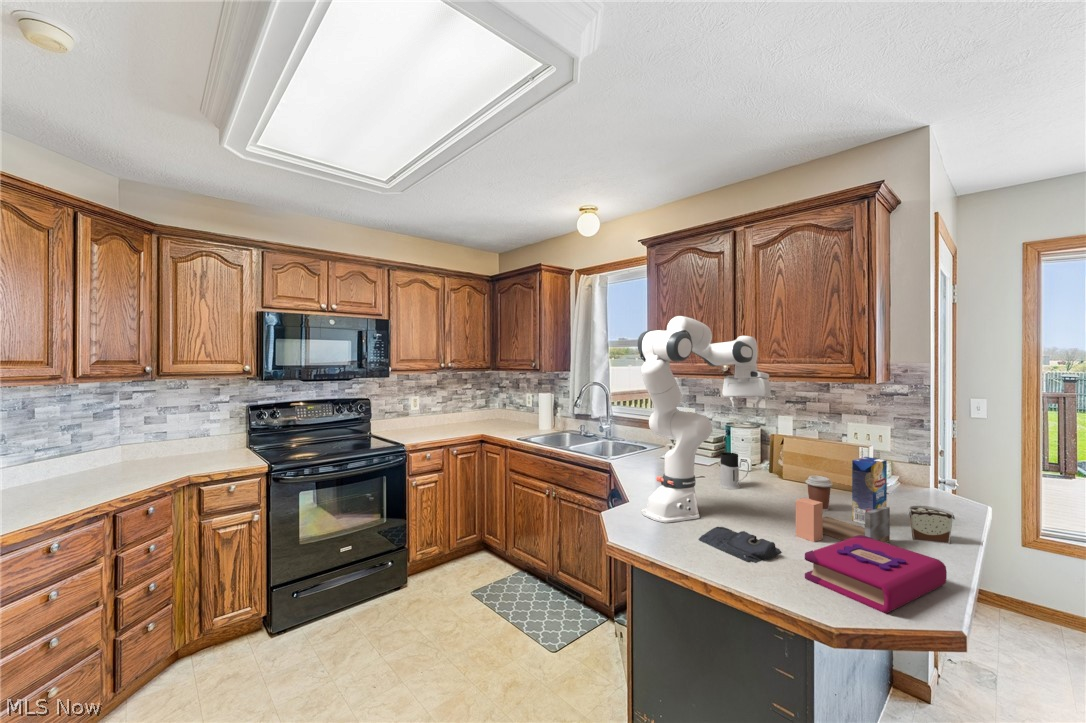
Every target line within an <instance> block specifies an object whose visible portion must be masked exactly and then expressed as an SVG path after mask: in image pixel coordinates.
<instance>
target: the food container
mask: <svg viewBox="0 0 1086 723" xmlns="http://www.w3.org/2000/svg"><path fill="white" fill-rule="evenodd" d="M906 515H907V516H909V520H910V528H911V536H912V540H913V541H916V542H926V543H936V544H946V545H950V541H951V535H952V526H953V520H956V518H955V514H954V512H952V511H949V510H947V509H943V508H939V507H935V506H928V505H912V506H911V505H910V506H909V508H908V510H907V513H906Z"/></svg>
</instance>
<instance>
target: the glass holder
mask: <svg viewBox="0 0 1086 723" xmlns="http://www.w3.org/2000/svg"><path fill="white" fill-rule="evenodd" d="M742 462H745V463H746V464H747V469H746V470H747V471H746V473H745V474H744V476H743V477H742V478H741V479H739V478H740V477H739V476H740V474H739V473H740V472H739V469H741V467H742ZM719 465H720V467H719V469H720V471H719V474H720V475H719V477H720V478H719V485H718V486H719V487H720V488H722V489H725V490H740V488H741V487H740V485H739V483H740V482H741V481H743V480H744V479H746V477H747V476H748V474H749V471H750V464H749V462H748V461H747V460H745V459H741V460H740V461H739V453H735V452H721V453H720V462H719Z"/></svg>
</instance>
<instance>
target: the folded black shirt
mask: <svg viewBox="0 0 1086 723" xmlns="http://www.w3.org/2000/svg"><path fill="white" fill-rule="evenodd" d="M698 541H700V542H701V543H703V544H706V545H708V546H710V547H712V548H715V549H717V550H719V551H721V552H724V553H726V554H728V555H731V556H732V557H735V558H737V559H740V560H742V562H745V563H753V564H754V563H755V564H758V563H760V562H762V561H769V560H771V559H773V558H776V557H777V556H778V555H779V554H780V553H782V551H781V549H780V548H778V547H776V543H775V542H773V541H769V540H767V539H765V538H759V539H758V538H757V536H756V535H754V534H750V533H748V532H746V531H745V530H744V531H739V532H737V531H734V530H732V529H730V528H728V527H724V526H716V527H713V528H712V529H709V531H707V532H705V533H704V534H702V535H701V536H700V537H698Z"/></svg>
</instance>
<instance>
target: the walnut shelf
mask: <svg viewBox="0 0 1086 723" xmlns="http://www.w3.org/2000/svg"><path fill="white" fill-rule="evenodd" d="M890 509H891V508H890V506H887V507H886V506H883V507H880V508H877V509H874V510H871V511H868V512H865V524H864V526H860V525H857V524H854V523H853V524H852V523H849V522H846V521H843V520H839V519H835V518H832V517H829V516H824V517H823V535H826V536H829V537H832V538H835V539H838V540H841V541H844V540H847V539H850V538H852V537H854V536H857V535H863V536H867V537H870V538H873V539H875V540H878V541H881V542H884V543H889V542H891V541H890V538H891V537H890V535H891V533H890V531H891V530H890V528H891V519H890V518H891V517H890V516H891V515H890V513H891V511H890Z"/></svg>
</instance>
